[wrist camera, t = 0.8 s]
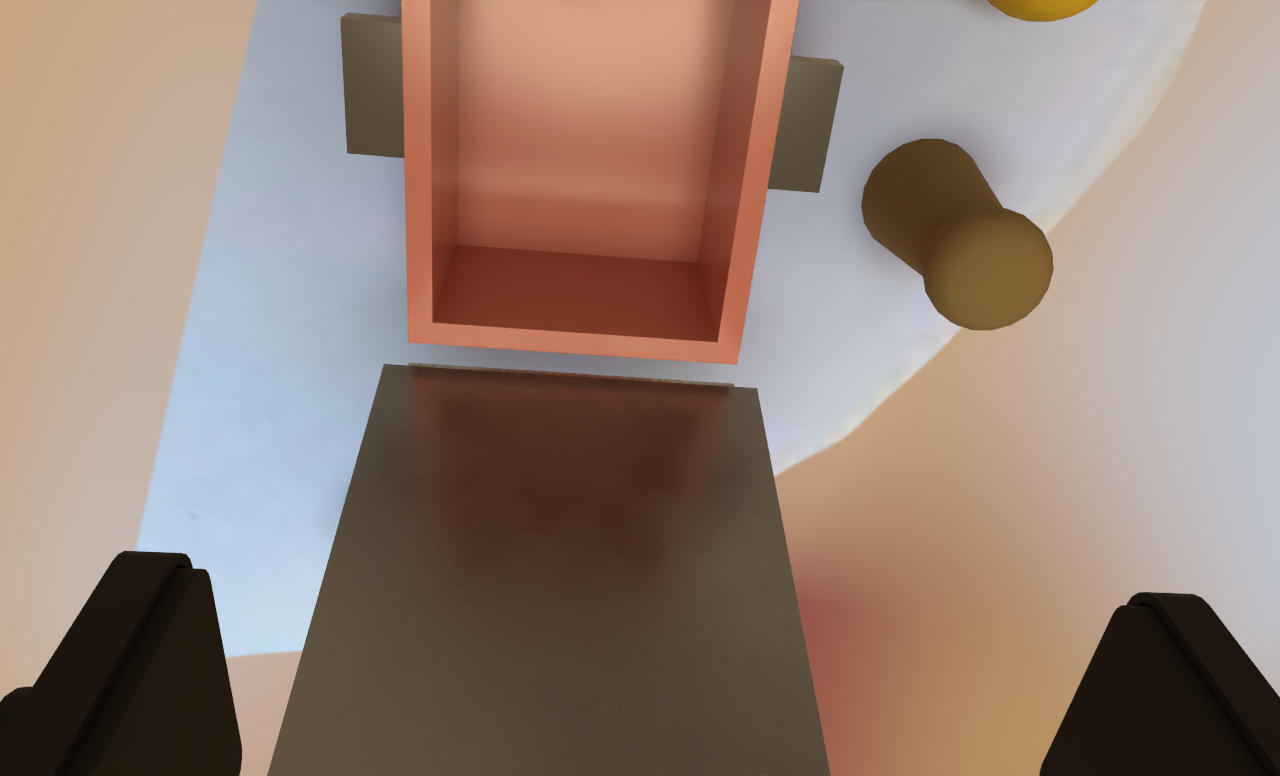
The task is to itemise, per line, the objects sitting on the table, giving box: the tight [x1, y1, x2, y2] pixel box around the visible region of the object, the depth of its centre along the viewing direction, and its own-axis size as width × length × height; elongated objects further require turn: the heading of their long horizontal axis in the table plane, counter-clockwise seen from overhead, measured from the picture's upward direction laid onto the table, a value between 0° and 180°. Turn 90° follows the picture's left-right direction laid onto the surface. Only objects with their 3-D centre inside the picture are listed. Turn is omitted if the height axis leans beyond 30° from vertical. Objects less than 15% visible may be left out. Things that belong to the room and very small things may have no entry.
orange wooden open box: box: [341, 0, 844, 364], centre depth 40 cm, size 20×19×10 cm
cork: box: [861, 139, 1053, 330], centre depth 44 cm, size 6×6×11 cm
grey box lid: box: [267, 363, 831, 776], centre depth 33 cm, size 24×16×1 cm
